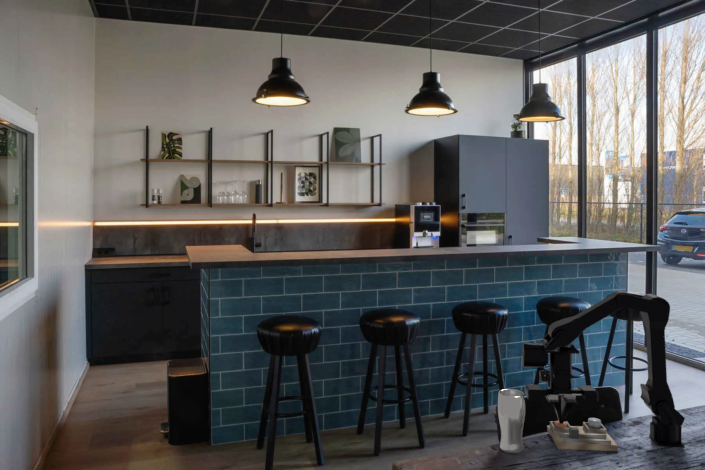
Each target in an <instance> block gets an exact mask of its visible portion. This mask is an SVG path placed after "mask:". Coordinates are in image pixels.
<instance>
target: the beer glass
mask: <svg viewBox="0 0 705 470" xmlns="http://www.w3.org/2000/svg"><path fill="white" fill-rule="evenodd" d="M525 400H526V399H525V392H523V391H521V390H519V389H513V388H505V389H504V388H503V389H500V390H499V391H498V397H497V414H498V420H499V422H498V423H499V426H500V435H501V436H500V444H499V447H500V448H499V449H500V450H501V451H503V452H505V453H508V454H520V453H522V452H523V451H524V450H525V449H524V443H523V429H524V423H525V419H526V418H525V417H526V402H525Z"/></svg>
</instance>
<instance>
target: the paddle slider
mask: <svg viewBox="0 0 705 470" xmlns="http://www.w3.org/2000/svg"><path fill="white" fill-rule="evenodd" d="M569 438H572V439H579V430H578V428H577V427H569Z"/></svg>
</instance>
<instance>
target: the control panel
mask: <svg viewBox="0 0 705 470" xmlns="http://www.w3.org/2000/svg"><path fill="white" fill-rule="evenodd" d="M555 421H556V420H554V421H553V420H551V421H549V425H546V429H547V430H546V431H547V432H548V434H549V435H550V434H551V435H552V438H553V440H554V441H553V440H552V441H553V443H554V442H555V443H554V445H555V444H556V445H555V447H556V448H557V449H558V450H574V451H575V450H577V451H578V450H580V451H602V452H603V451H605V452H607V451H609V452H618V449H619V448H618V446H619V445H618V444H617V442H615V440H614V439H613V438H612V437H611V435H610V434H609V433H608V432H607V428H606V427H605V426H604V425H603V423H601V427H600V428H593V427H590V426H588V421H587V422H586V421H583V422H582V426H580V425H574V426H573V425H570V423H569V422H568V421H565V422H566V423H567V428H557V427H555ZM569 427H577V428H578V430H579V439H572V438H569ZM552 438H551V439H552Z"/></svg>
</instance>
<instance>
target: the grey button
mask: <svg viewBox="0 0 705 470" xmlns="http://www.w3.org/2000/svg"><path fill="white" fill-rule="evenodd" d="M587 422H588V426H590V427H593V428H600V427H601V424H602V420H601V419H599V418H596V417H588V419H587Z"/></svg>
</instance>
